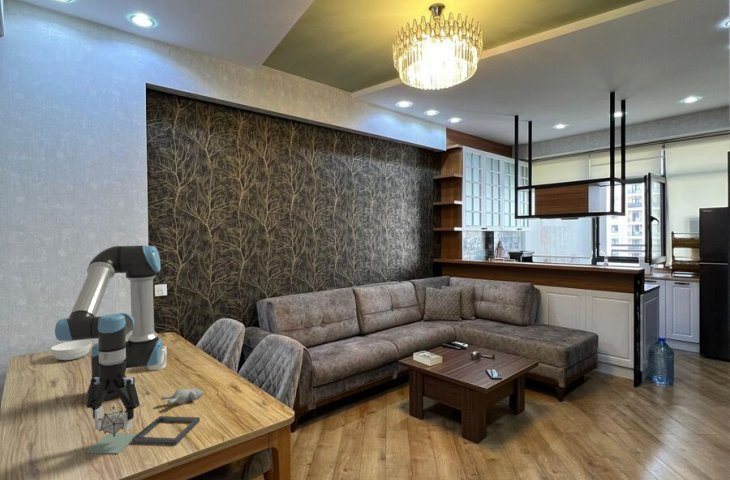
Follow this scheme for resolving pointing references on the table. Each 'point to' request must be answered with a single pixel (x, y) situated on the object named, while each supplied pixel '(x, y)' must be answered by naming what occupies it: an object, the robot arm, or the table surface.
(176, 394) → the grey teddy bear
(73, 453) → the table surface
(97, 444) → the pad
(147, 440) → the socket frame
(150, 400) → the table surface
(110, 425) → the game die
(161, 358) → the mug
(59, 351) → the bowl
